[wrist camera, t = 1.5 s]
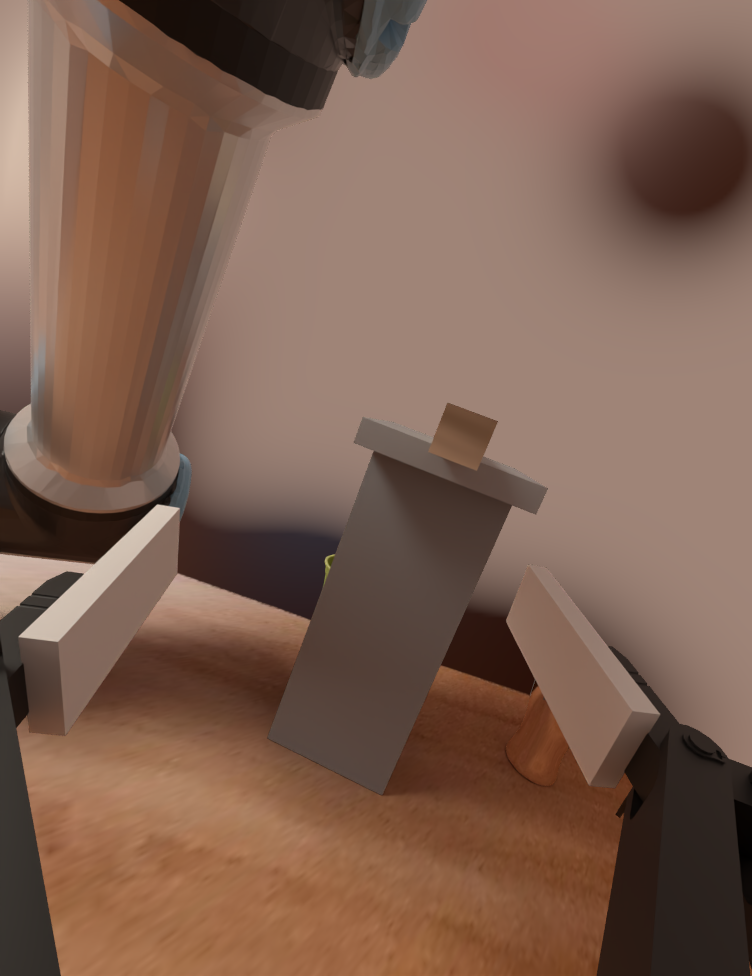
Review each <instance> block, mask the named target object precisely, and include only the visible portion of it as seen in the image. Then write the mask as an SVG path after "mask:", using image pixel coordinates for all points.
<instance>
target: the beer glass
mask: <svg viewBox="0 0 752 976" xmlns="http://www.w3.org/2000/svg"><path fill="white" fill-rule="evenodd" d="M569 748H570V747H569V745H568V743H567V741H566V739H565V737H564V735H563V733H562V731H561V729H560V727H559V725H558V723H557V721H556V719H555V717H554V715H553V713H552V711H551V709H550V707H549V705H548V703H547V701H546V700H545V698H544V696H543V694H542V692H541V690H540V688H539V686H538V684H537V682H536V680H535V682H534V685H533V688H532V691H531V694H530V698H529V701H528V705H527V709H526V713H525V716H524V719H523V721H522V724H521V726H520V727H519V729H518V731H517V732H516V733H515V734H514V736H513V737H512V738H511V739H510V740H509V742H508V743H507V745H506V754H507V757H508V759H509V761H510V762H511V764H512V765H513V766H514V768H515V769H516V770H517V771H518V772H519V773H520V774H521V775H523V776H524V777H525V778H527V779H528V780H530V781H531V782H533V783H535V784H538V785H541V786H551V785H552V784H554V782H555V781H556V778H557V775H558V771H559V767H560V764H561V761H562V759H563V757H564V755H565V753H566V752H567V750H568V749H569Z"/></svg>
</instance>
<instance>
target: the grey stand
mask: <svg viewBox="0 0 752 976" xmlns="http://www.w3.org/2000/svg"><path fill="white" fill-rule="evenodd" d="M433 438H434V437H431V436H428V435H426V434H423V433H420V432H418V431H415V430H413V429H410V428H407V427H405V426H402V425H399V424H397V423H394V422H390V421H384V420H377V419H371V418H365V417H363V418H362V421H361V424H360V426H359V429H358V432H357V435H356V437H355V440H354V443H355V444H358V445H361V446H363V447H366V448H368V449H371V450H374V452H373V454H372V457H371V460H370V463H369V465H368V468H367V471H366V473H365V476H364V479H363V481H362V484H361V487H360V489H359V492H358V495H357V498H356V500H355V503H354V506H353V509H352V511H351V514H350V517H349V519H348V522H347V525H346V527H345V530H344V533H343V535H342V538H341V541H340V543H339V546H338V549H337V551H336V554H335V557H334V559H333V562H332V565H331V568H330V570H329V573H328V576H327V578H326V581H325V584H324V586H323V589H322V592H321V594H320V597H319V600H318V603H317V605H316V608H315V611H314V613H313V616H312V619H311V621H310V624H309V627H308V629H307V632H306V635H305V638H304V640H303V643H302V646H301V648H300V651H299V654H298V656H297V659H296V662H295V664H294V667H293V670H292V673H291V675H290V678H289V681H288V683H287V686H286V689H285V691H284V694H283V697H282V699H281V702H280V705H279V708H278V710H277V713H276V716H275V718H274V721H273V724H272V726H271V729H270V732H269V734H268V737H267V738H268V739H270V740H272V741H274V742H276V743H278V744H280V745H282V746H284V747H286V748H288V749H290V750H292V751H294V752H296V753H298V754H300V755H302V756H304V757H306V758H308V759H310V760H312V761H314V762H316V763H318V764H320V765H322V766H324V767H326V768H328V769H330V770H332V771H334V772H336V773H338V774H340V775H342V776H344V777H346V778H348V779H350V780H352V781H354V782H356V783H358V784H360V785H362V786H364V787H366V788H368V789H370V790H372V791H374V792H376V793H378V794H380V795H383V792H384V790H385V788H386V786H387V783H388V781H389V779H390V777H391V775H392V772H393V770H394V768H395V766H396V763H397V761H398V759H399V757H400V754H401V752H402V750H403V748H404V746H405V743H406V741H407V739H408V737H409V734H410V732H411V730H412V728H413V725H414V723H415V721H416V719H417V716H418V714H419V712H420V710H421V708H422V705H423V703H424V701H425V699H426V696H427V694H428V692H429V690H430V687H431V685H432V683H433V681H434V679H435V676H436V674H437V672H438V670H439V667H440V665H441V663H442V660H443V658H444V656H445V654H446V652H447V649H448V647H449V645H450V643H451V641H452V638H453V636H454V634H455V632H456V629H457V627H458V625H459V623H460V620H461V618H462V616H463V614H464V611H465V609H466V607H467V605H468V602H469V600H470V598H471V596H472V594H473V591H474V589H475V587H476V585H477V582H478V580H479V578H480V576H481V574H482V571H483V569H484V567H485V565H486V562H487V560H488V558H489V556H490V553H491V551H492V549H493V547H494V545H495V542H496V540H497V538H498V536H499V533H500V531H501V529H502V526H503V524H504V522H505V520H506V518H507V515H508V513H509V511H510V509H511V506H512V505H513V506H515V507H518V508H520V509H523V510H526V511H528V512H530V513H533V514H536V513H537V511H538V509H539V507H540V505H541V503H542V500H543V498H544V496H545V494H546V492H547V490H548V488H546V487H545V486H543V485H541V484H540V483H538V482H536V481H535V480H533V479H531V478H530V477H528V476H526V475H525V474H523V473H521V472H520V471H518V470H516V469H515V468H512V467H509V466H507V465H504V464H501V463H499V462H496V461H493V460H491V459H488V458H486V457H483V458H482V460H481V462H480V465H479V467H478V469H477V471H476V470H473V469H471V468H468V467H466V466H463V465H461V464H458V463H455V462H453V461H450V460H448V459H445V458H443V457H440V456H437V455H435V454H432V453H430V452H428V451H429V448H430V446H431V443H432V441H433Z"/></svg>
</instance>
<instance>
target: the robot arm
mask: <svg viewBox="0 0 752 976" xmlns="http://www.w3.org/2000/svg"><path fill="white" fill-rule="evenodd" d="M426 1H427V0H28V93H29V94H28V96H29V215H30V324H31V325H30V328H31V331H30V332H31V333H30V335H31V404H30V405H28V406H26V407H24V408H23V409H22V410H21V411H20V412H19V413H18V414H13V413H10V412H5V411H1V410H0V554H5V555H15V556H24V557H33V558H42V559H51V560H60V561H69V562H78V563H87V564H94V565H93V566H92V567H91V568H90V569H89V570H88V571H87V572H86V573H85V574H82V573H75V572H68V571H67V572H65V573H62V574H60V575H58V576H56V577H54V578H52V579H50V580H47V581H46V582H45V583H44V584H42V585H41V586H40V587H39V588H38V589H37V590H35V591H34V592H33V593H32V595H31V596H28V597H27V598H26V599H25V600H24V601H23V602H21V603H20V606H17V607H16V608H14V609H13V610H12V611H11V612H10V613H9V614H7V615H6V616H5V617H4V618H3V619H2V620H0V976H61V974H60V969H59V963H58V958H57V952H56V947H55V941H54V936H53V930H52V924H51V919H50V913H49V908H48V902H47V897H46V891H45V886H44V880H43V875H42V869H41V863H40V858H39V852H38V847H37V841H36V836H35V830H34V825H33V819H32V814H31V808H30V802H29V797H28V791H27V786H26V780H25V775H24V769H23V764H22V758H21V752H20V747H19V741H18V736H17V730H16V728H17V726H18V725H19V724H20V723H21V722H22V720H23V719H24V718H25V717H26V715H27V716H28V724H29V732H30V733H41V734H51V735H62V736H66V734H67V733H68V731H69V730H70V729H71V727H72V726H73V724H74V723H75V721H76V720H77V718H78V717H79V715H80V714H81V713H82V711H83V710H84V708H85V707H86V705H87V704H88V702H89V701H90V699H91V698H92V697H93V695H94V694H95V692H96V691H97V689H98V688H99V686H100V685H101V684H102V682H103V681H104V679H105V678H106V676H107V675H108V673H109V672H110V670H111V669H112V668H113V666H114V665H115V663H116V662H117V660H118V659H119V657H120V656H121V654H122V653H123V652H124V650H125V649H126V647H127V646H128V644H129V643H130V641H131V640H132V639H133V637H134V636H135V634H136V633H137V631H138V630H139V628H140V627H141V625H142V624H143V623H144V621H145V620H146V618H147V617H148V615H149V614H150V612H151V611H152V609H153V608H154V607H155V605H156V604H157V602H158V601H159V599H160V598H161V596H162V595H163V593H164V592H165V591H166V589H167V588H168V586H169V585H170V583H171V582H172V580H173V579H174V578H175V576H176V575H177V563H178V562H177V561H178V541H179V522H180V520H181V517H182V515H183V512H184V509H185V506H186V502H187V498H188V494H189V490H190V483H191V475H192V470H191V464H190V461H189V460H188V459H187V457H185V456H184V455H182V454H180V453H179V448H178V444H177V442H176V439H175V437H174V436H173V434H172V432H171V429H172V426H173V423H174V420H175V418H176V415H177V412H178V409H179V406H180V403H181V400H182V397H183V394H184V391H185V388H186V385H187V382H188V379H189V376H190V373H191V371H192V368H193V365H194V361H195V359H196V356H197V353H198V350H199V347H200V344H201V341H202V338H203V335H204V332H205V330H206V327H207V324H208V321H209V318H210V315H211V312H212V309H213V306H214V303H215V300H216V297H217V294H218V291H219V288H220V285H221V283H222V280H223V277H224V274H225V270H226V268H227V265H228V262H229V259H230V256H231V253H232V250H233V247H234V245H235V242H236V239H237V235H238V233H239V230H240V227H241V224H242V221H243V218H244V215H245V212H246V209H247V206H248V203H249V200H250V197H251V195H252V192H253V189H254V185H255V183H256V180H257V177H258V174H259V171H260V168H261V165H262V162H263V159H264V157H265V154H266V151H267V148H268V145H269V142H270V139H271V136H272V135H273V134H274V133H276V132H277V131H278V130H280V129H283V128H287V127H290V126H293V125H296V124H299V123H302V122H305V121H309V120H312V119H315V118H317V117H318V116H319V115H320V114H321V112H322V110H323V108H324V104H325V101H326V99H327V97H328V94H329V92H330V89H331V86H332V84H333V82H334V79H335V76H336V74H337V71H338V70H339V68H340V67H341V65H342V64H344V65H346V66H347V68H348V70H349V71H350V73H351V75H352V76H354V77H358V76H363V77H365V78H369V79H372V78H377V77H379V76H380V75H381V74H383V73H384V72H385V71H386V70H387V69H388V68H389V67H390V65H391V64H392V62H393V61H394V60H395V58H396V57H397V56H398V54H399V52H400V50H401V48H402V46H403V44H404V41H405V39H406V36H407V33H408V30H409V28H410V25H411V23H413V22H415V21H416V20H417V19H418V18H419V16H420V14H421V12H422V10H423V8H424V6H425V4H426ZM506 622H507V624H508V626H509V628H510V630H511V632H512V634H513V636H514V638H515V640H516V642H517V644H518V646H519V648H520V650H521V652H522V654H523V656H524V658H525V660H526V662H527V664H528V666H529V668H530V670H531V672H532V673H533V676H534V678H535V680H536V682H537V684H538V686H539V688H540V690H541V692H542V694H543V696H544V698H545V700H546V701H547V703H548V705H549V707H550V709H551V711H552V713H553V715H554V717H555V719H556V721H557V723H558V725H559V727H560V729H561V731H562V733H563V735H564V737H565V739H566V741H567V743H568V745H569V747H570V749H571V751H572V753H573V755H574V757H575V759H576V761H577V763H578V765H579V767H580V769H581V771H582V773H583V775H584V777H585V779H586V781H587V783H588V785H589V786H596V787H607V788H615V787H616V786H617V784H618V783H619V781H620V779H621V778H622V776H623V774H624V773H626V775H627V777H628V779H629V780H630V782H631V784H632V785H633V787H632V789H631V791H630V792H629V794H628V795H627V797H626V798H625V800H624V802H623V803H622V805H621V806H620V808H619V809H618V811H617V813H616V815H617V816H618V817H619V818H620V817H621V816H622V814H623V813H624V819H623V825H622V830H621V836H620V842H619V848H618V854H617V860H616V866H615V871H614V877H613V883H612V889H611V895H610V901H609V907H608V912H607V918H606V924H605V930H604V936H603V942H602V948H601V953H600V959H599V965H598V971H597V976H750V967H749V962H750V965H751V969H752V767H749V766H746V765H744V764H741V763H739V762H736V761H733V760H730V759H728V757H727V756H726V755H725V753H724V752H723V751H722V749H721V748H720V747H719V746H718V745H717V744H716V743H714V742H713V741H712V740H711V739H710V738H709V737H707V736H706V735H704V734H703V733H701V732H700V731H698V730H696V729H694V728H692V727H690V726H687V725H682V724H679V723H678V722H677V720H676V719H675V718H674V716H673V715H672V714H671V713H670V711H669V710H668V709H667V708H666V706H665V705H664V704H663V703H662V701H661V700H660V699H659V698H658V696H657V695H656V694H655V693H654V692H653V690H652V689H651V688H650V686H647V683H646V682H645V680H644V679H643V678H642V677H641V676H640V675H638V672H637V670H636V669H635V668H634V667H633V665H632V664H631V663H630V662H629V660H628V659H626V657H624V656H623V655H622V654H621V653H619V652H618V651H617V650H616V649H615V648H613V647H611V646H607V645H606V644H605V642H604V641H603V640H602V638H601V637H600V636H599V635H598V633H597V632H596V631H595V629H594V628H593V627H592V626H591V624H590V623H589V622H588V620H587V619H586V618H585V616H584V615H583V614H582V613H581V611H580V610H579V609H578V608H577V606H576V605H575V604H574V602H573V601H572V600H571V598H570V597H569V596H568V595H567V594H566V592H565V591H564V589H563V588H562V587H561V585H560V584H559V583H558V582H557V580H556V579H555V578H554V576H553V575H552V574H551V573H550V571H549V570H548V569H547V568H546V567H541V566H534V565H528V566H527V569H526V572H525V574H524V577H523V579H522V582H521V584H520V587H519V589H518V592H517V595H516V597H515V600H514V602H513V605H512V607H511V610H510V612H509V615H508V617H507V620H506Z"/></svg>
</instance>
